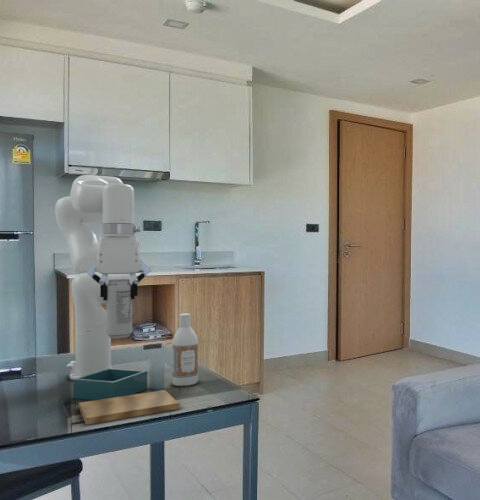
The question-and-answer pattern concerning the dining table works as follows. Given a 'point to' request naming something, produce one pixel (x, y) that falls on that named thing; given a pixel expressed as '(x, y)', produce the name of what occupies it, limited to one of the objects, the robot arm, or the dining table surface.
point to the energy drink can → (119, 308)
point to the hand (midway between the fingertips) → (119, 298)
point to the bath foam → (185, 354)
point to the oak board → (127, 406)
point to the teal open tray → (109, 384)
